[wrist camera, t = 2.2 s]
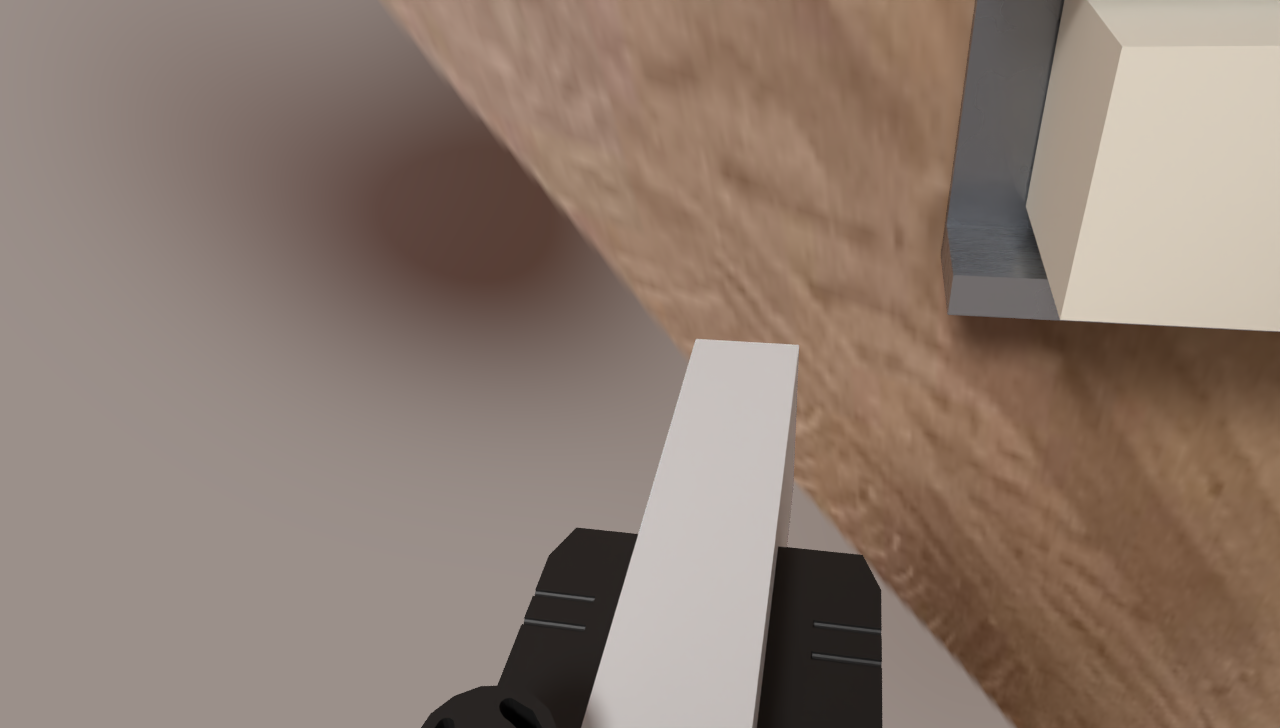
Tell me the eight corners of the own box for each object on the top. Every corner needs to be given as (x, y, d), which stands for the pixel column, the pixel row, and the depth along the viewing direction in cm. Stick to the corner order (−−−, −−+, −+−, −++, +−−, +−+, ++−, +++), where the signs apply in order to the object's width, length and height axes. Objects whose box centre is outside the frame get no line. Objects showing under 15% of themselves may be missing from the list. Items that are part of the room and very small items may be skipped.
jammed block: (1069, -25, 22) (1122, 47, 17) (1457, -33, 20) (1636, 43, 15) (1025, 206, 25) (1060, 319, 20) (1355, 215, 24) (1476, 341, 19)
